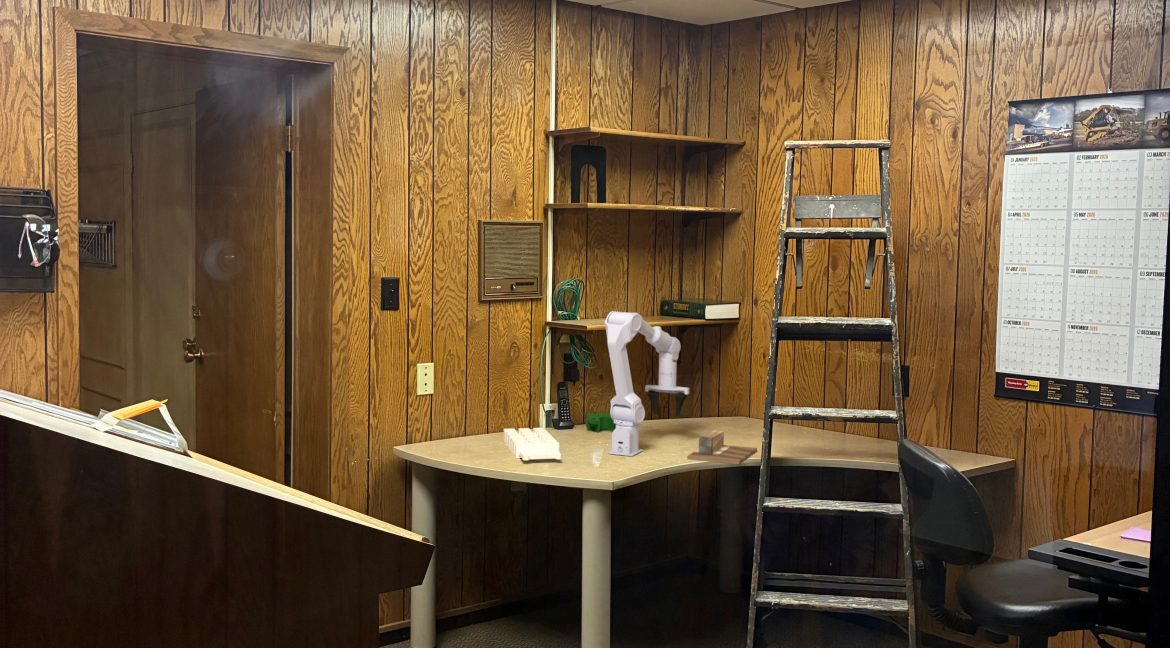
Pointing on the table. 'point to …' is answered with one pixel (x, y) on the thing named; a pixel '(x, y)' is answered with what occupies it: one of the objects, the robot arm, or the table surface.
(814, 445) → the table surface
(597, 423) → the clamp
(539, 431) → the organizer
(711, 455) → the board
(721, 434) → the tan wooden bar
